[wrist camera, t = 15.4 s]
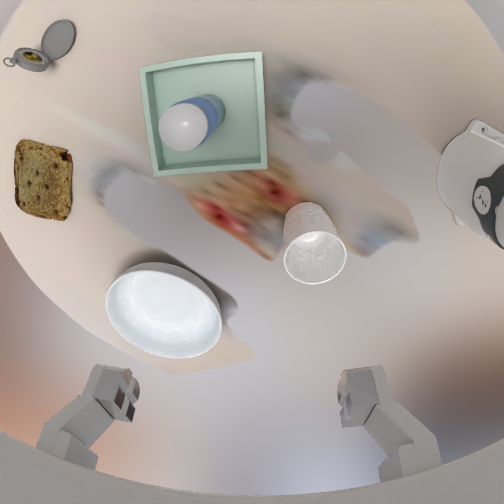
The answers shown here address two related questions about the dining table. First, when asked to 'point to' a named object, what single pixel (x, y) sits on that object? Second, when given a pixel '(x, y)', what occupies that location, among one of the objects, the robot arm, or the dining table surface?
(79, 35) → the dining table surface
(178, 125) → the shaker
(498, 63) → the dining table surface
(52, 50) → the pocket watch
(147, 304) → the serving bowl
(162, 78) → the tray
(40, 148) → the pastry
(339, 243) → the white cup
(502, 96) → the dining table surface
